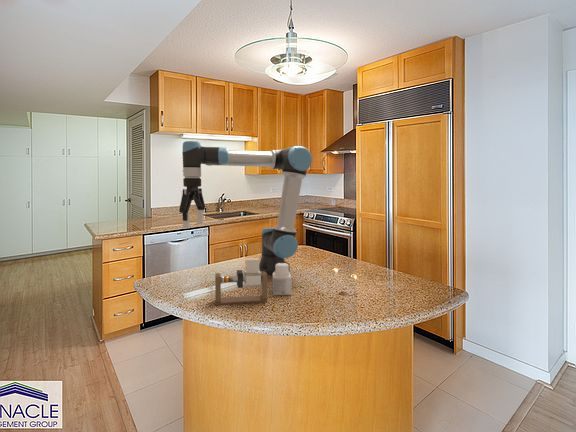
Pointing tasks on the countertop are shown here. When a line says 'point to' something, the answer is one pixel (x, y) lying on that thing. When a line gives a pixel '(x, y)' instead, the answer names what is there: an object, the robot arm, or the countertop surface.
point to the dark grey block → (240, 279)
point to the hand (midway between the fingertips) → (193, 226)
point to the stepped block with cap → (252, 273)
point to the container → (281, 279)
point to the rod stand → (241, 299)
